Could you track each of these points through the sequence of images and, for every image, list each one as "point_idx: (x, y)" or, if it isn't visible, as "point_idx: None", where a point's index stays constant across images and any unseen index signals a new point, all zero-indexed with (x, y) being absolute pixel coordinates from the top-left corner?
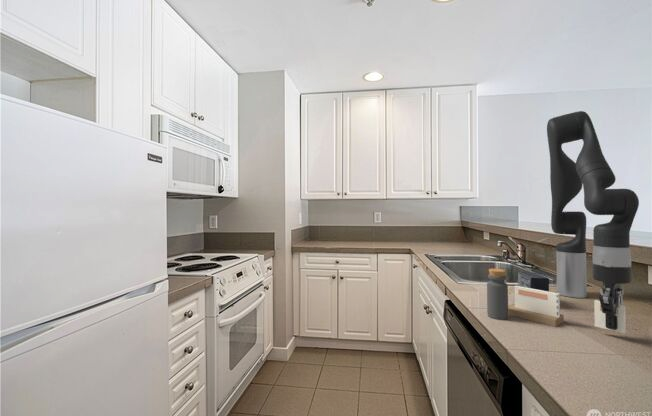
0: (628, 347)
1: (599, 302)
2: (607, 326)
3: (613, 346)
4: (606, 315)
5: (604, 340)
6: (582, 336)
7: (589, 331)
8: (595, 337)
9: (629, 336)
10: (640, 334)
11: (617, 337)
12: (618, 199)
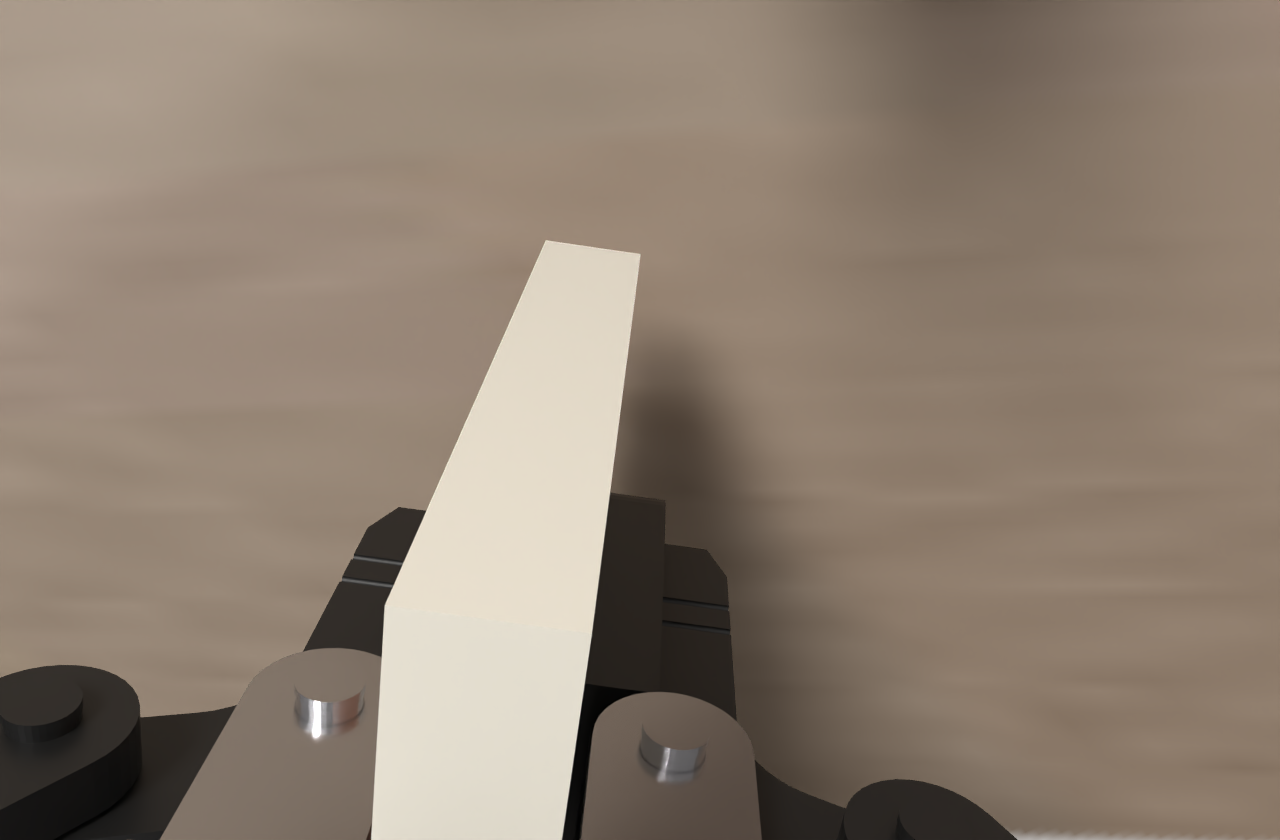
0: (227, 650)
1: (390, 757)
2: (395, 514)
3: (66, 489)
4: (376, 652)
5: (267, 365)
6: (147, 13)
7: (635, 97)
8: (310, 227)
9: (858, 661)
10: (1109, 780)
11: None
12: None
